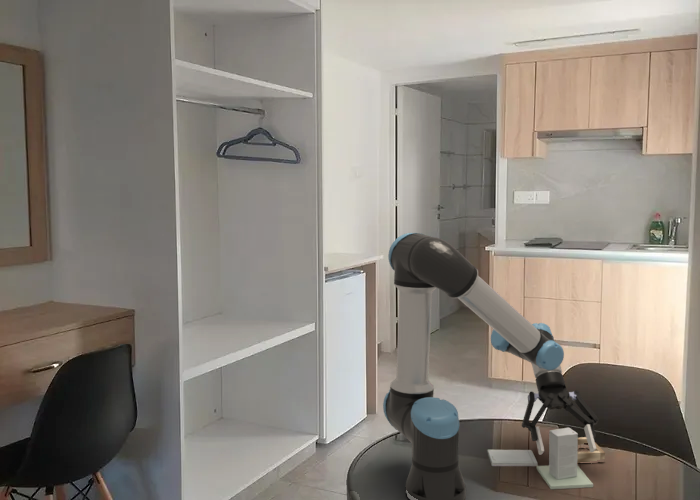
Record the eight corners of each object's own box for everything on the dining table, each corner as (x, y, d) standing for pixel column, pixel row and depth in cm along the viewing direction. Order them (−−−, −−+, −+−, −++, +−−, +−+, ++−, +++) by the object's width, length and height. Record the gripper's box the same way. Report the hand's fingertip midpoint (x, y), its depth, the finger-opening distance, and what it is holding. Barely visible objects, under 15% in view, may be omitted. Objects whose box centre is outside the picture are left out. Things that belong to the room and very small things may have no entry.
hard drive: (491, 462, 181) (537, 462, 180) (487, 448, 189) (531, 448, 188) (491, 467, 181) (537, 468, 180) (487, 454, 189) (531, 454, 188)
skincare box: (568, 469, 176) (569, 426, 174) (577, 476, 172) (578, 433, 170) (547, 472, 174) (548, 429, 173) (556, 480, 170) (557, 436, 169)
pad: (550, 489, 168) (550, 486, 167) (536, 468, 178) (536, 466, 178) (593, 487, 168) (593, 484, 168) (576, 466, 179) (576, 464, 179)
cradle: (568, 464, 180) (569, 454, 180) (555, 448, 190) (555, 438, 190) (604, 462, 181) (604, 452, 180) (589, 446, 191) (589, 436, 190)
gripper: (588, 380, 187) (609, 454, 174) (501, 383, 186) (516, 458, 173) (597, 368, 181) (619, 444, 168) (507, 371, 179) (523, 448, 167)
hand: (567, 451), depth 170 cm, fingers open, 13 cm apart
